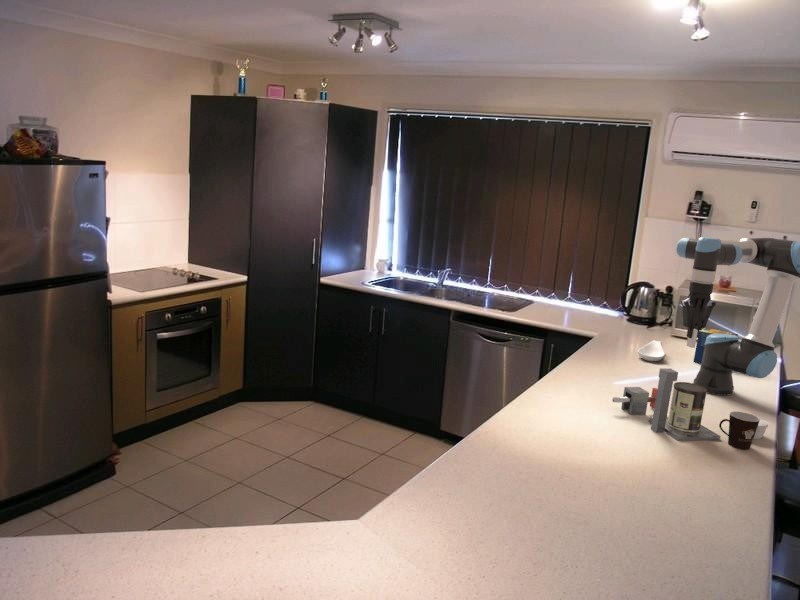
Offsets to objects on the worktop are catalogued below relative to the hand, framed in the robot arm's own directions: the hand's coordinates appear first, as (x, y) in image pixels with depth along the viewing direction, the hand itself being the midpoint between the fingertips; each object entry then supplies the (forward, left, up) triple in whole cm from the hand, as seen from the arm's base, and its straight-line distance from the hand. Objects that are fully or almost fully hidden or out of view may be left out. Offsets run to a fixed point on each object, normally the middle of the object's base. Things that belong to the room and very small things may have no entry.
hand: (690, 346), depth 237 cm
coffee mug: (+1, +29, -25) cm, 38 cm away
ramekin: (-11, +21, -25) cm, 34 cm away
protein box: (-61, -58, -25) cm, 88 cm away
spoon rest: (-36, -68, -25) cm, 81 cm away
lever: (+18, 0, -24) cm, 30 cm away
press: (+13, +11, -24) cm, 30 cm away
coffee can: (+11, +17, -23) cm, 31 cm away
